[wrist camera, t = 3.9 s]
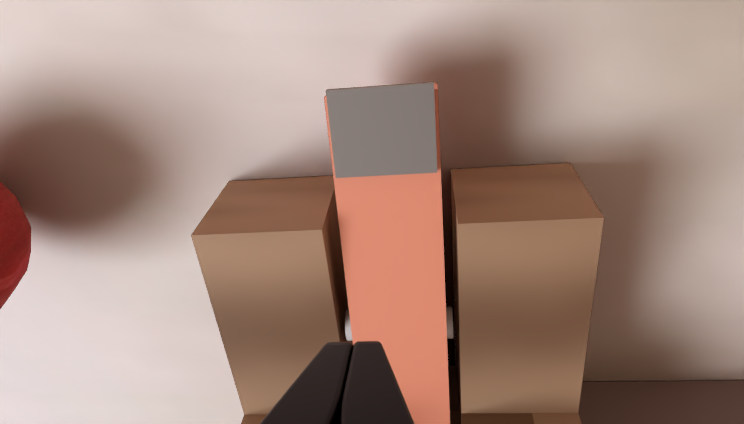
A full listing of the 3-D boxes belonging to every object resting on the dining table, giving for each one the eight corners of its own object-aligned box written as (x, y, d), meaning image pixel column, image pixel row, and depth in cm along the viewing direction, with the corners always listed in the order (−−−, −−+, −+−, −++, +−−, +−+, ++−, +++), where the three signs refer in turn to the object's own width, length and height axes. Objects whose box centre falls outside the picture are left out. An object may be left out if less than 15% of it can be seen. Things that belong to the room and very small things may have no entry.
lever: (501, 568, 22) (508, 621, 20) (338, 564, 23) (331, 614, 21) (507, 70, 15) (519, 82, 13) (263, 88, 15) (242, 102, 13)
